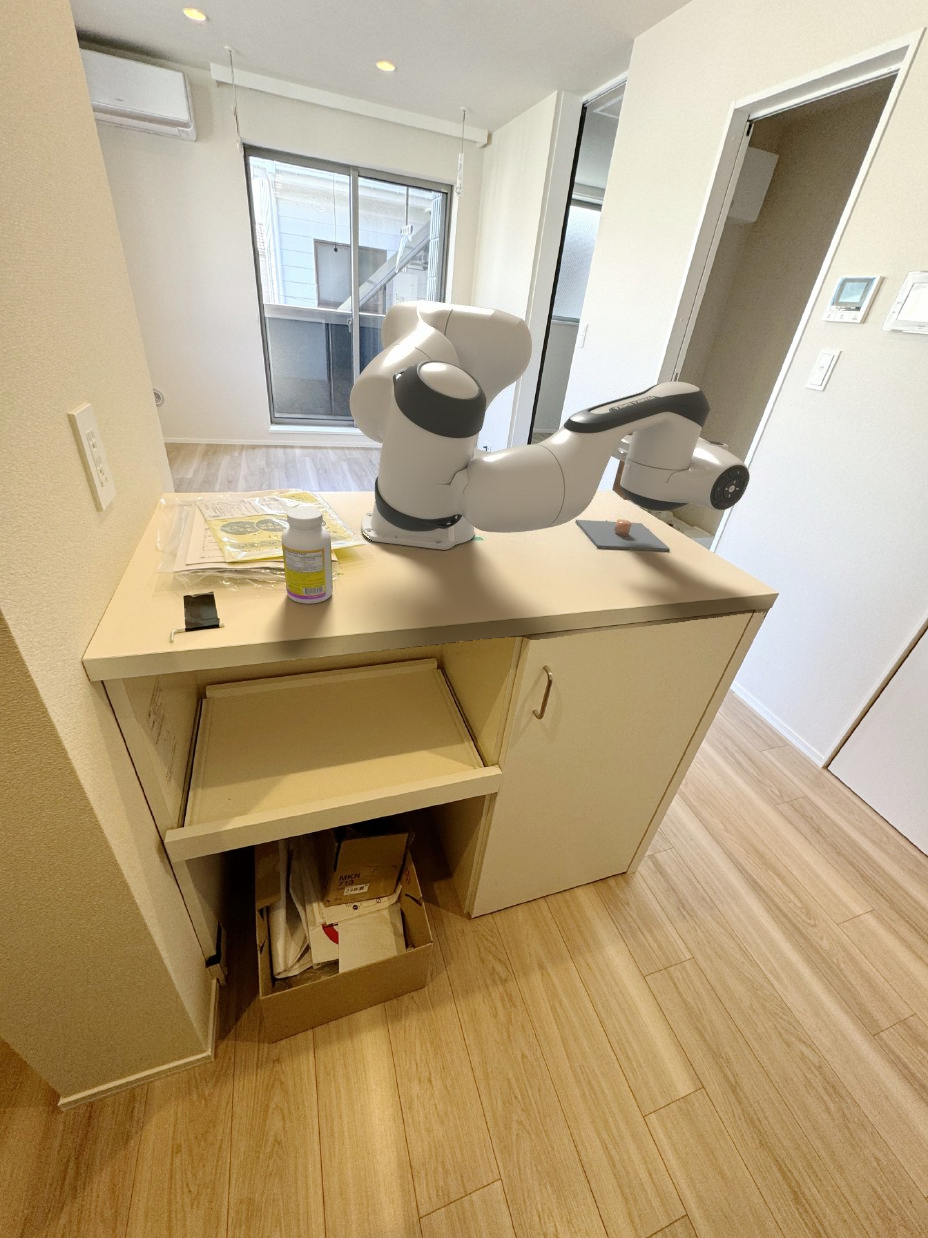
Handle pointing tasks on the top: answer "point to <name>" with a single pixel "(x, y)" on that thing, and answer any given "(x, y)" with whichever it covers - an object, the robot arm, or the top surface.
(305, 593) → the supplement bottle
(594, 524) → the mat
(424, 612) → the top surface
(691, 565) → the top surface
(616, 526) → the peach round lump
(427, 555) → the top surface
